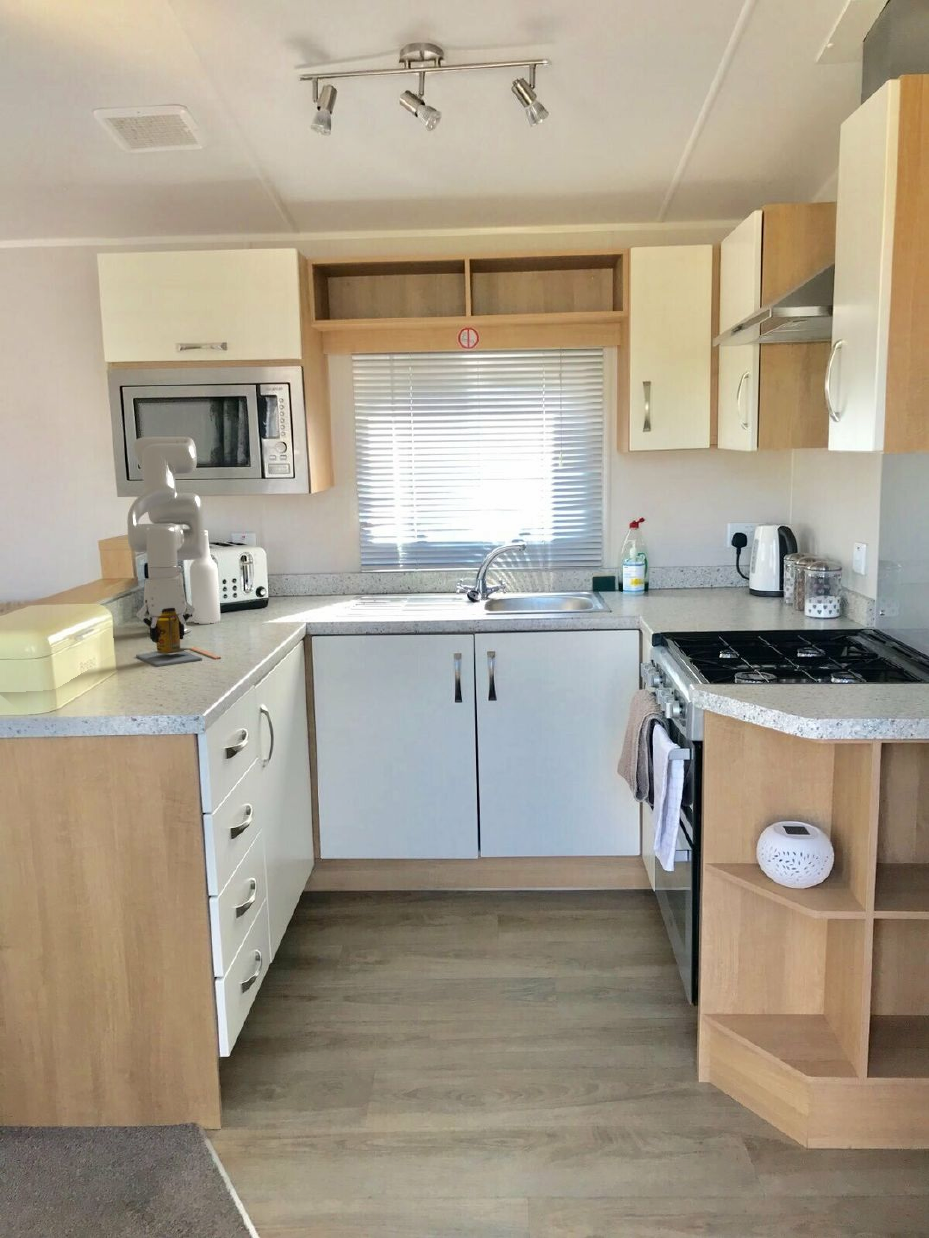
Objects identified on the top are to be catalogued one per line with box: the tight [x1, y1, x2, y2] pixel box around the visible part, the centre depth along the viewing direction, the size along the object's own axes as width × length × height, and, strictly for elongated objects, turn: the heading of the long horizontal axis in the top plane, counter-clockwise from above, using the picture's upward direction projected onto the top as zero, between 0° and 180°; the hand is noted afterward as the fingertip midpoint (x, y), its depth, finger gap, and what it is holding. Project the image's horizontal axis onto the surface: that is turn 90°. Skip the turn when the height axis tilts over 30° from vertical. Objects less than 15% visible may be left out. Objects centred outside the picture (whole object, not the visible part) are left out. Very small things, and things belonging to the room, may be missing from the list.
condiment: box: [151, 608, 191, 654], centre depth 255 cm, size 7×8×12 cm
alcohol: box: [189, 529, 222, 625], centre depth 310 cm, size 9×9×30 cm
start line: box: [189, 646, 221, 660], centre depth 261 cm, size 18×2×1 cm, turn 37°
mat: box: [135, 650, 203, 667], centre depth 255 cm, size 16×12×1 cm
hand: (167, 639), depth 255 cm, fingers closed on condiment, 6 cm apart
